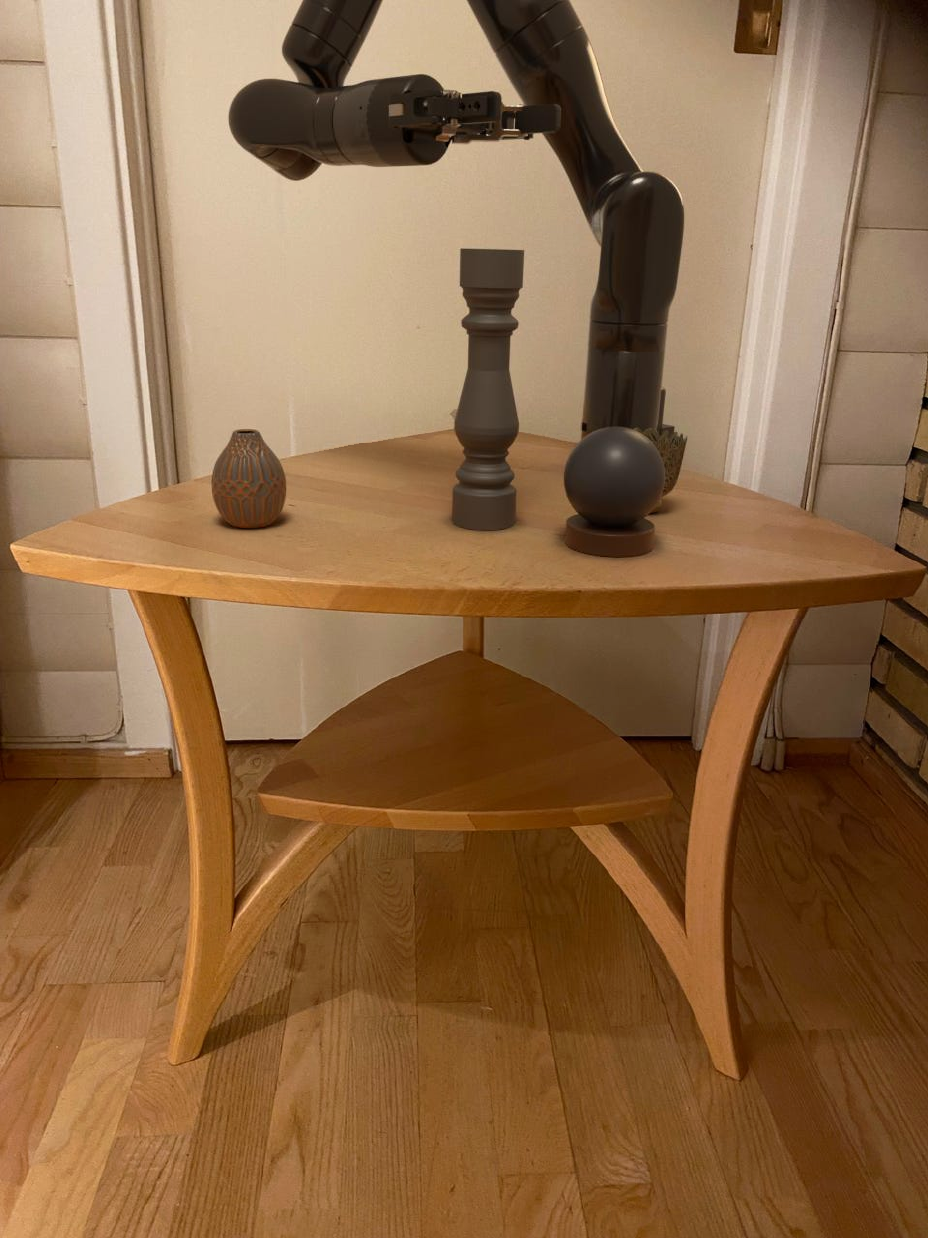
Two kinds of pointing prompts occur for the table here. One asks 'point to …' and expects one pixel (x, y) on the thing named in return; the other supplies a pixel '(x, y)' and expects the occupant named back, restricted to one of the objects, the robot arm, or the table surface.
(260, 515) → the vase
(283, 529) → the table surface
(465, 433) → the candle holder
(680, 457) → the spiky textured bowl
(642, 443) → the ball on stand
